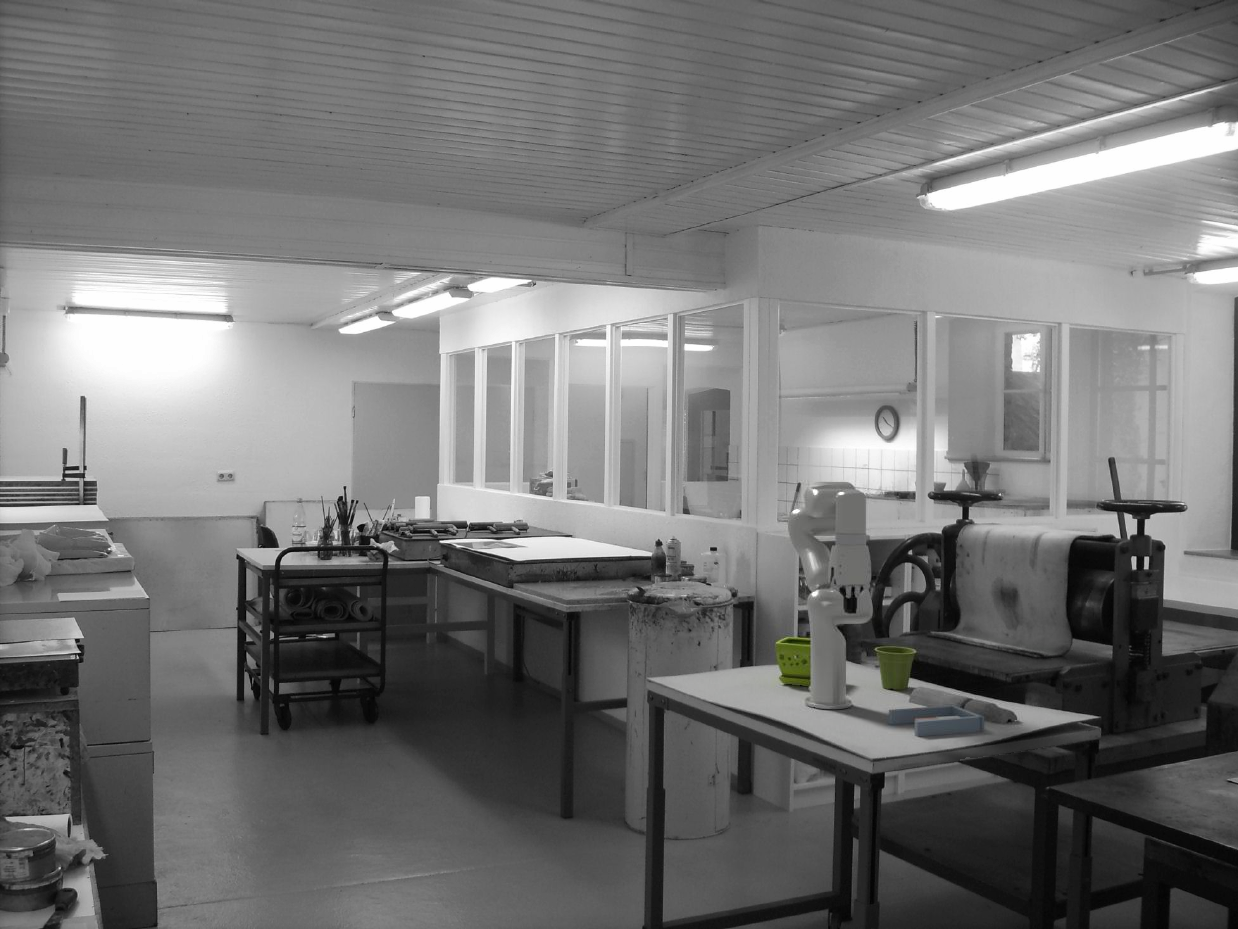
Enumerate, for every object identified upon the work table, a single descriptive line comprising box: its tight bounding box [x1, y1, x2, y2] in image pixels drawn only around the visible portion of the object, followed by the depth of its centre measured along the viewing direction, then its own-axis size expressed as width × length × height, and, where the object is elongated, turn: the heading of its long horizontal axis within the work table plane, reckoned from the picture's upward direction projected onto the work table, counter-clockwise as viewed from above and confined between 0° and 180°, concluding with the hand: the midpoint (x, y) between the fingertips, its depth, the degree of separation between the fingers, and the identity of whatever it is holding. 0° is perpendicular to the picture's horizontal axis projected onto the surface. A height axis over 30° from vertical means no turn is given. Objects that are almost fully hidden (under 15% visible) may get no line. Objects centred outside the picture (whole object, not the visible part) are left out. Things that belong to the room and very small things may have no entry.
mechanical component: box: [908, 686, 1018, 725], centre depth 285 cm, size 9×4×30 cm
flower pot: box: [774, 636, 811, 687], centre depth 320 cm, size 14×14×13 cm
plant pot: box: [874, 646, 917, 691], centre depth 313 cm, size 12×12×11 cm
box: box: [888, 705, 985, 737], centre depth 267 cm, size 13×19×4 cm
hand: (850, 612), depth 269 cm, fingers closed
